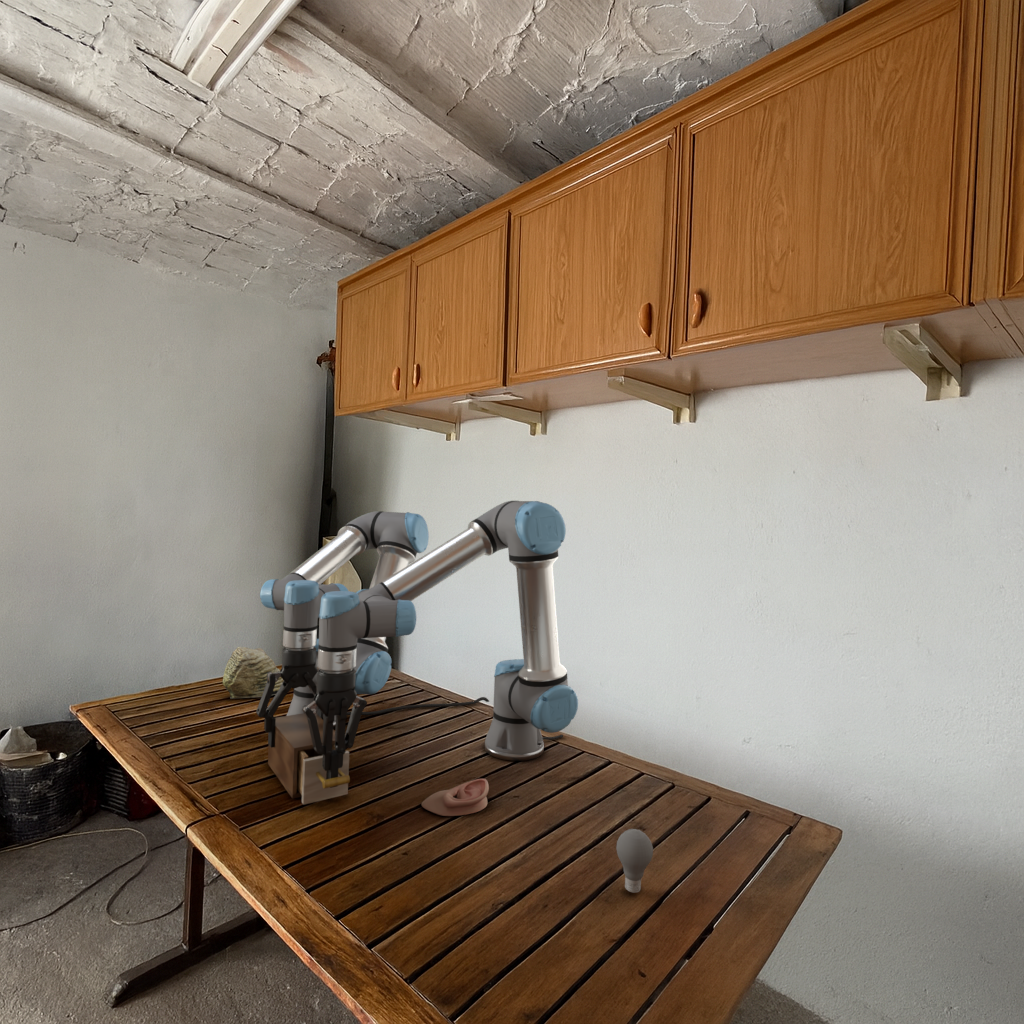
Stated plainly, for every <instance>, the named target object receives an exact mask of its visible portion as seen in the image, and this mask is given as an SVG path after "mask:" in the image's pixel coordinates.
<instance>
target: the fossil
mask: <svg viewBox="0 0 1024 1024" xmlns="http://www.w3.org/2000/svg"><path fill="white" fill-rule="evenodd" d="M280 670H281V669H279V668H278V667H277V665H276V663H275V662H274V660H273V659H272V658H271V657H270V656H269V655H268V654H267V653H266V652H265V650H264V649H263V648H260V647H258V648H251V647H247V646H246V647H245V646H238V647H237V648H236V649H235V650H233V651H232V653H231V656H230V657H229V659H228V660H227V663H226V666H225V668H224V671H223V675H222V676H223V677H222V685H223V687H224V688H225V690H226V691H228V693H229V698H230V699H250V698H261V697H262V694H263V692H264V689H265V686H266V683H267V673H268V672H272V673H274V672H280ZM283 681H284V680H283V679H282V678H281V677H279V678H278V681H277V682H275V687H274V690H273V692H272V695H271V697H272V696H275V695H276V693H277V692H278V690H279V689H280V686H281V684H282V682H283Z"/></svg>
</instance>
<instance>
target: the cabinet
mask: <svg viewBox="0 0 1024 1024" xmlns="http://www.w3.org/2000/svg"><path fill="white" fill-rule="evenodd" d="M315 716H316V719H317V723H318V728H319V733H320V737H321V742H322V741H323V719H322V718H321V717H319V716H318V715H317V714H315ZM275 719H276V723H275V747H272V748H271V747H270V745H269V744H268V747H267V748H268V750H267V765H268V767H270V769H271V771H272V772H273V773H274V775H275V776H276V778H277V779H278V780H279V782H280V784H281V785H282V786H283V788H284V789H285V790H286V792H287V793H288V795H289V796H290V797H291V799H297V798H302V795H301V793H300V792H299V791H298V789H297V764H298V751H301V750H307V749H312V748H313V743H312V739H311V734H310V729H309V725H308V720H307V716H306V715H305V713H302V714H296V715H289V716H286V715H284V716H278V717H275ZM333 744H335V730H334V729H333V739H332V745H333Z"/></svg>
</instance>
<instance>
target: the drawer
mask: <svg viewBox="0 0 1024 1024" xmlns="http://www.w3.org/2000/svg"><path fill="white" fill-rule="evenodd" d="M332 750H335V744H333V745H332ZM345 751H346V752H345V754H343V766H342V768H338V777H336V778H331V779H327V780H326V773H327V771H325V770H324V769H323V767H322V761H323V754H318V753H317V752H316V751H315V750H314V748H312V749H307V750H301V751H298V764H297V789H298V791H299V792H300V793H301V795H302V797H301V804H302V805H309V804H312V803H317V802H320V801H325V800H328V799H334V798H337V797H338V798H339V797H341V796H345V795H348V794H349V784H350V782H351V778H350V775H349V771H350V751H349V750H345ZM333 786H337V787H333ZM330 787H332V788H330Z"/></svg>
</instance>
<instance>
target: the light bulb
mask: <svg viewBox="0 0 1024 1024" xmlns="http://www.w3.org/2000/svg"><path fill="white" fill-rule="evenodd" d="M615 849H616V854H617V857H618V859H619V861H620V863H621V865H622V867H623V873H624V874H623V875H624V876H625V878H624V888H625V890H627V891H628V892H630V893H634V894H635V893H639V892H640V891H641V889H642V887H641V886H642V879H643V877H644V875H645V871H646V868H647V867H648V866H649V864H650V863H651V861H652V859H653V855H654V847H653V843H652V841H651V838H649V836H648V835H647V834H646V833H645V832H643V831H642V830H641V829H636V828H629V829H627V830H625V831H623V832H622V833H621V834H620V835H619V837H618V839H617V841H616V847H615Z"/></svg>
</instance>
